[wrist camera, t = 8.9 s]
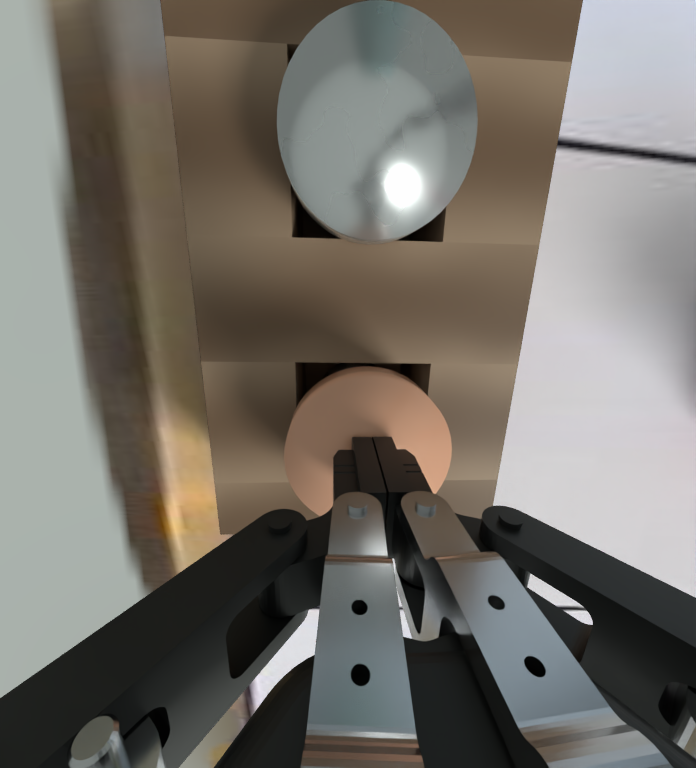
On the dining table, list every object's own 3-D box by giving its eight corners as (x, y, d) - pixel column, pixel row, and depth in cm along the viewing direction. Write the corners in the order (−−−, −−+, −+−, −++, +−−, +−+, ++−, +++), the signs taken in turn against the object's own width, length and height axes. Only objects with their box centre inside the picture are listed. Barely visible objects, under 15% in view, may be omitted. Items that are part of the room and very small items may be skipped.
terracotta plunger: (298, 341, 18) (280, 376, 11) (413, 342, 19) (461, 377, 12) (301, 445, 20) (286, 529, 13) (405, 445, 20) (442, 526, 14)
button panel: (221, 59, 17) (150, -90, 10) (491, 75, 17) (592, -52, 11) (251, 462, 23) (220, 534, 17) (444, 460, 24) (488, 528, 18)
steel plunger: (296, 113, 16) (271, -9, 9) (424, 120, 17) (491, 8, 10) (298, 253, 18) (280, 237, 11) (414, 257, 18) (464, 242, 12)
